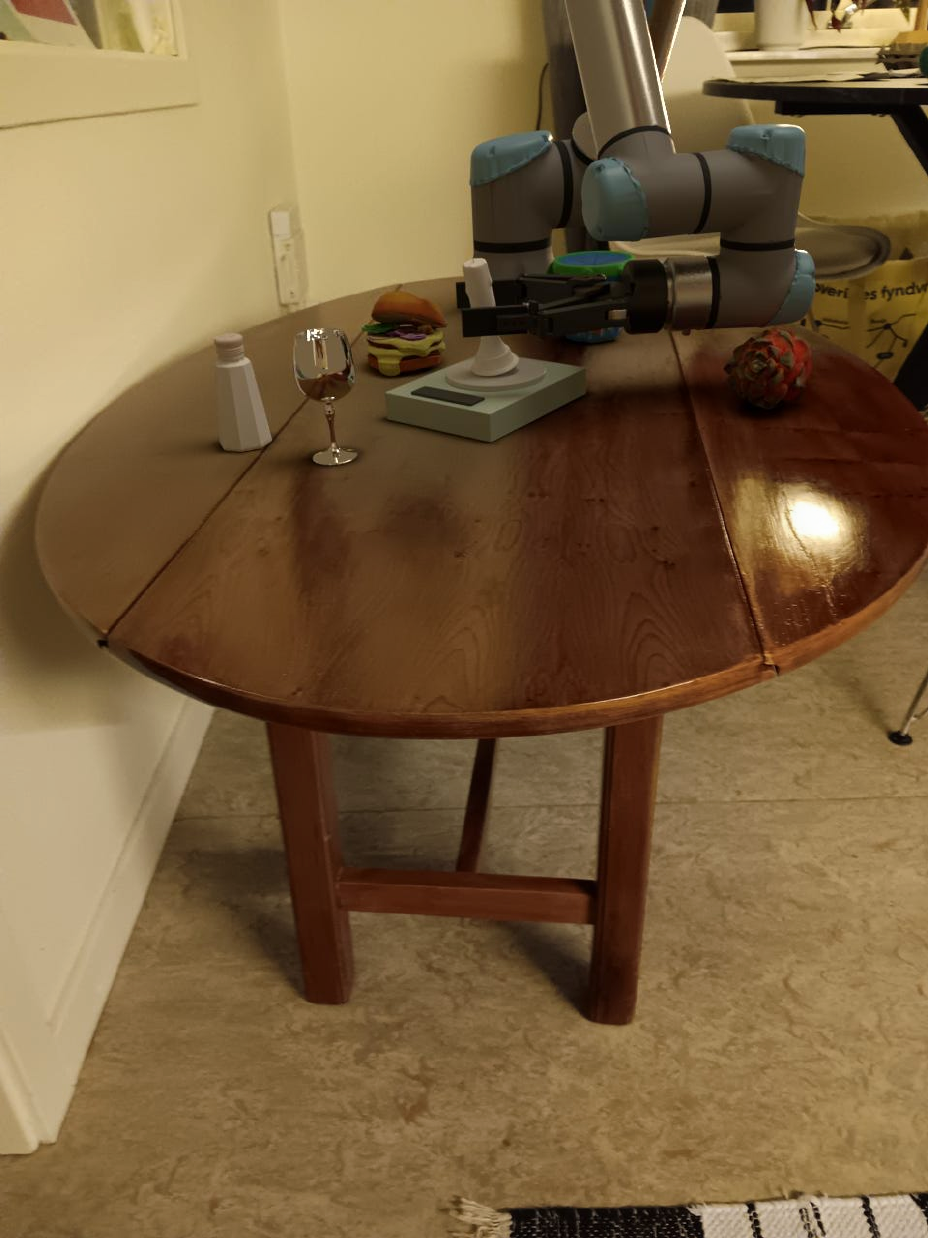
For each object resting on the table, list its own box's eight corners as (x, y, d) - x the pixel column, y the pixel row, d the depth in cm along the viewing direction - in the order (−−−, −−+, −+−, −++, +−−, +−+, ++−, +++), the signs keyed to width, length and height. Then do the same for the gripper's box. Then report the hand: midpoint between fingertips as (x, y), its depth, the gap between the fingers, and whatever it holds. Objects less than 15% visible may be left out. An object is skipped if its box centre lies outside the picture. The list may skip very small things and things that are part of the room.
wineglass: (317, 472, 91) (300, 345, 85) (298, 454, 96) (280, 332, 89) (373, 459, 93) (360, 335, 87) (351, 442, 98) (337, 323, 92)
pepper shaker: (283, 440, 99) (266, 333, 93) (239, 456, 96) (220, 346, 90) (251, 430, 102) (234, 326, 97) (209, 445, 99) (188, 337, 93)
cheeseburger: (348, 374, 118) (347, 289, 115) (387, 371, 127) (387, 292, 124) (423, 378, 114) (424, 290, 111) (457, 375, 124) (459, 293, 121)
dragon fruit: (758, 437, 98) (753, 415, 108) (836, 388, 94) (823, 371, 105) (713, 367, 96) (713, 352, 107) (791, 315, 93) (782, 305, 103)
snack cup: (523, 335, 131) (522, 257, 125) (578, 320, 136) (579, 245, 131) (607, 356, 120) (610, 271, 115) (663, 339, 125) (667, 257, 120)
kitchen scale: (486, 375, 115) (485, 346, 113) (586, 393, 108) (586, 361, 106) (387, 419, 103) (384, 386, 101) (490, 442, 96) (489, 407, 94)
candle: (504, 378, 101) (483, 267, 94) (462, 375, 104) (437, 267, 96) (527, 354, 104) (508, 245, 97) (485, 352, 107) (464, 245, 100)
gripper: (688, 362, 93) (467, 376, 93) (636, 306, 114) (455, 317, 113) (694, 282, 89) (463, 297, 89) (639, 239, 110) (452, 250, 109)
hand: (458, 308), depth 101 cm, fingers open, 12 cm apart
